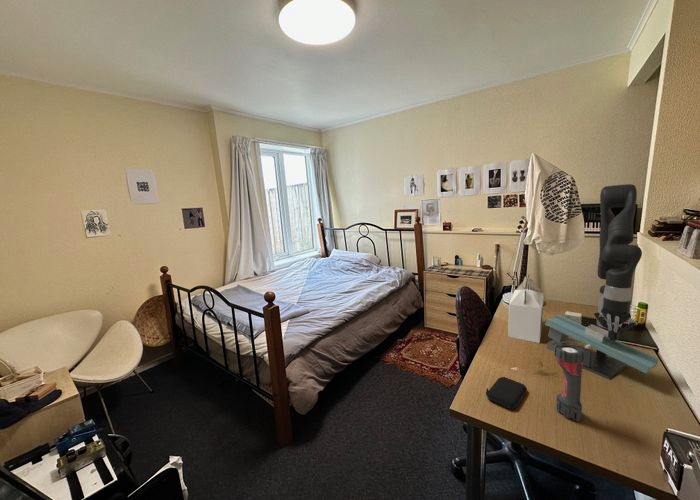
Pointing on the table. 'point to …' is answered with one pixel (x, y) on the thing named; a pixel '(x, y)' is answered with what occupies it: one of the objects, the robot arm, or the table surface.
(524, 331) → the gable box
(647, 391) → the table surface
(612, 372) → the beam stand
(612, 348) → the seesaw beam
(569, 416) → the flashlight
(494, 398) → the carrying case or bag
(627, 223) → the robot arm
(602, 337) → the steel slider
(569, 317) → the skincare box
